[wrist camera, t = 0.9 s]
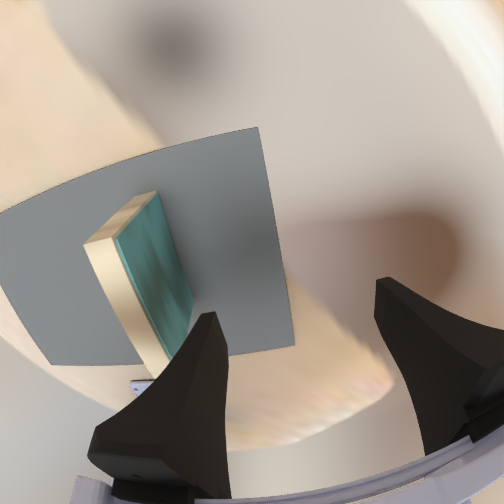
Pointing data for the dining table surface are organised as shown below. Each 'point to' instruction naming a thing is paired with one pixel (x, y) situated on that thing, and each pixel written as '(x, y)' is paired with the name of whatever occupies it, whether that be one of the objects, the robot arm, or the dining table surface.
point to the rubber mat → (185, 240)
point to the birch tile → (143, 279)
